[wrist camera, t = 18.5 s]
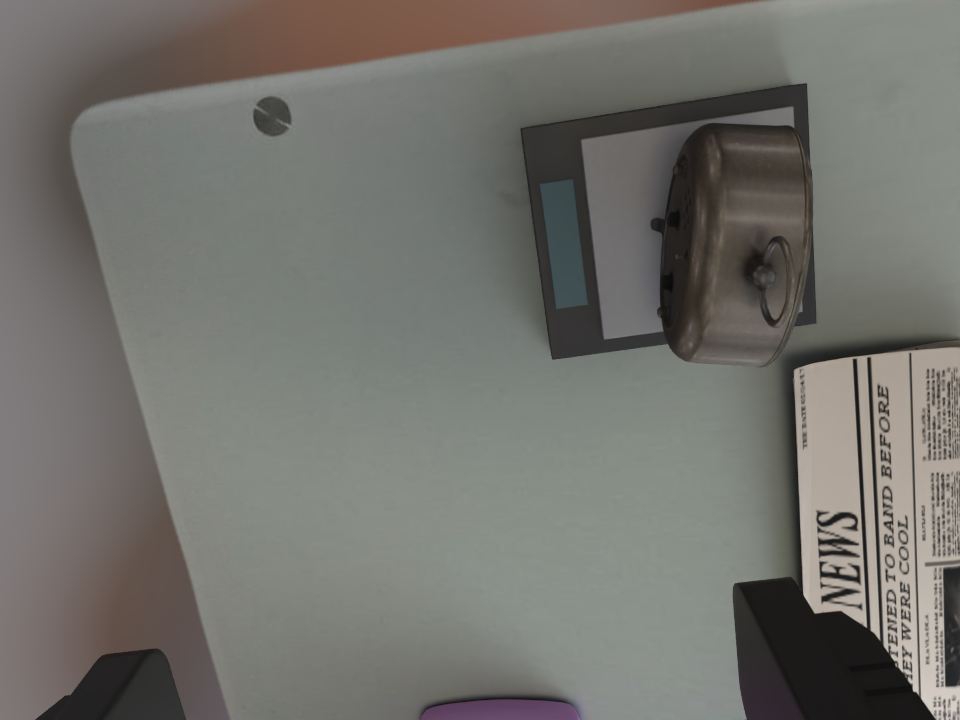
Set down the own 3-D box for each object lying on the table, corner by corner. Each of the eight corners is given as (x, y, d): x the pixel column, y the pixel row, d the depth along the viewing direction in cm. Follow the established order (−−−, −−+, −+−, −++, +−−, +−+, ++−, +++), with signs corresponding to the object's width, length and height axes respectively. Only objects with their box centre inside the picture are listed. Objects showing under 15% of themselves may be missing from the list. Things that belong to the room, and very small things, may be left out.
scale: (550, 348, 49) (552, 364, 46) (520, 128, 46) (521, 128, 43) (802, 313, 48) (822, 327, 45) (791, 84, 45) (812, 82, 42)
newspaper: (991, 791, 58) (1021, 833, 54) (812, 817, 59) (831, 860, 55) (959, 314, 48) (993, 330, 45) (746, 358, 49) (764, 376, 46)
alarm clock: (728, 328, 46) (842, 438, 30) (631, 323, 46) (694, 430, 30) (756, 124, 42) (899, 128, 27) (651, 119, 42) (734, 120, 27)
